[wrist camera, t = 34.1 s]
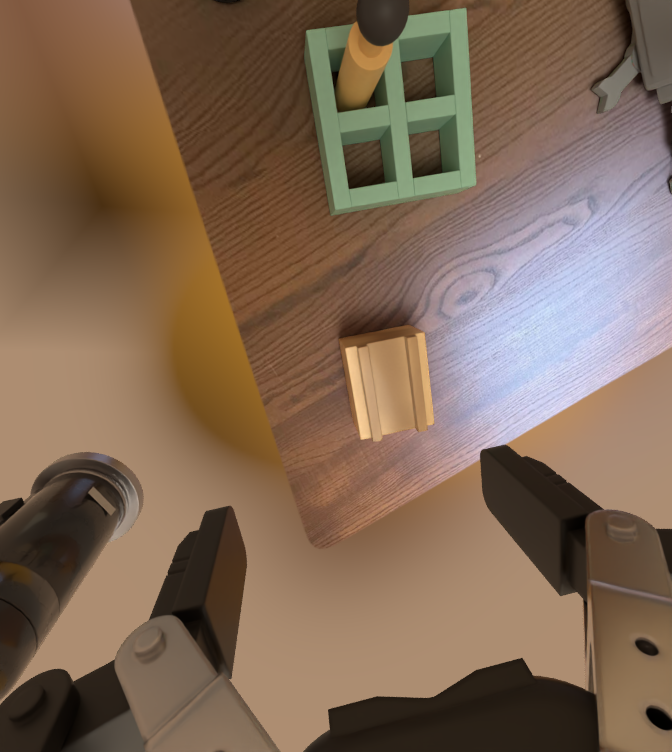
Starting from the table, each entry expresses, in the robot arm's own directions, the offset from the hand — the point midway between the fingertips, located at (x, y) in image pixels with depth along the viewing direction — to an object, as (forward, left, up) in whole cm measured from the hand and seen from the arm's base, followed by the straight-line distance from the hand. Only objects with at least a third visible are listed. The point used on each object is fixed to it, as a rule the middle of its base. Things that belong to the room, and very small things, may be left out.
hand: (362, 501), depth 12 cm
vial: (+8, +19, -23) cm, 31 cm away
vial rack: (+11, +18, -30) cm, 37 cm away
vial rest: (+7, -6, -30) cm, 31 cm away
